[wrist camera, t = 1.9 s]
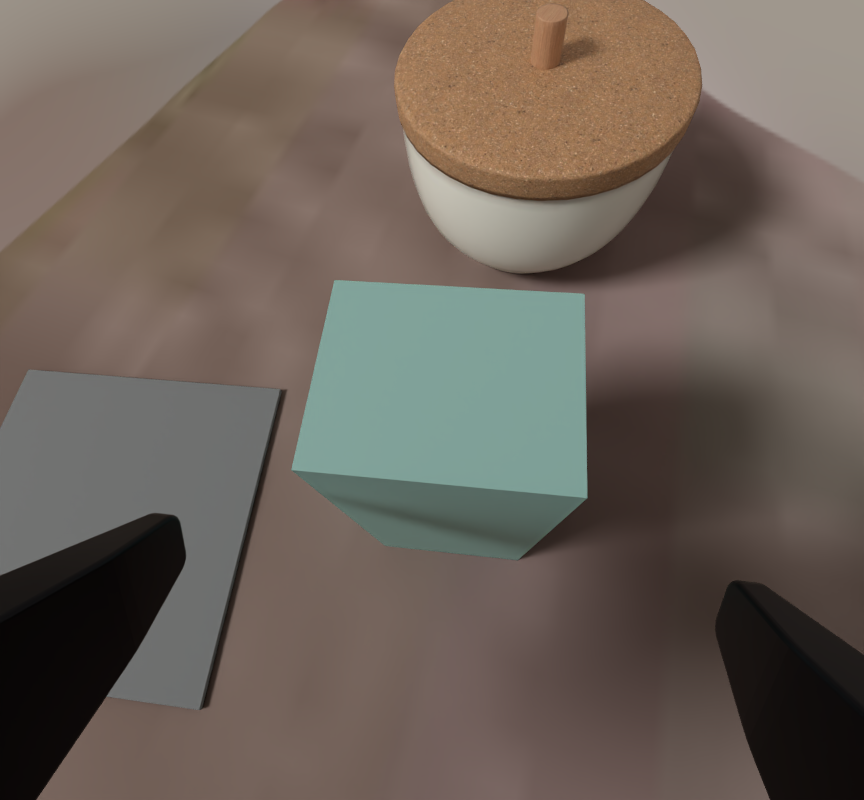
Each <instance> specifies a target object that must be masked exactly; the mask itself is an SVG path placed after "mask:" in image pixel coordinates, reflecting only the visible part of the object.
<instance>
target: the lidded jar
mask: <svg viewBox="0 0 864 800" xmlns="http://www.w3.org/2000/svg"><path fill="white" fill-rule="evenodd" d="M394 88H395V96H396V103H397V108H398V113H399V118H400V122H401V125H402V127H403V133H404V139H405V144H406V150H407V156H408V161H409V166H410V170H411V173H412V177H413V180H414V184H415V186H416V189H417V191H418V194H419V196H420V198H421V201H422V203H423V206H424V208H425V210H426V212H427V214H428V215H429V217H430V218H431V220H432V221H433V223H434V224H435V226H436V227H437V229H438V230H439V231H440V233H441V234H442V235H443V236H444V237H445V238H446V239H447V240H448V241H449V242H450V243H451V244H452V245H453V246H454V247H456V248H457V249H458V250H460V251H461V252H462V253H464V254H465V255H466V256H468V257H470V258H471V259H473V260H475V261H477V262H479V263H481V264H484V265H487V266H489V267H492V268H495V269H497V270H500V271H504V272H509V273H518V274H526V273H536V272H544V271H550V270H556V269H559V268H562V267H565V266H569V265H571V264H573V263H575V262H578V261H580V260H582V259H584V258H586V257H588V256H590V255H592V254H593V253H595V252H596V251H598V250H599V249H601V248H602V247H604V246H605V245H606V244H607V243H609V242H610V241H611V240H612V239H613V238H614V237H616V236H617V235H618V234H619V233H620V232H621V231H622V230H623V229H624V228H625V227H626V226H627V224H628V223H629V222H630V221H631V220H632V218H633V217H634V216H635V215H636V213H637V212H638V211H639V209H640V208H641V207H642V205H643V204H644V202H645V201H646V200H647V198H648V196H649V195H650V193H651V192H652V190H653V189H654V187H655V186H656V184H657V182H658V180H659V178H660V177H661V175H662V173H663V171H664V169H665V167H666V165H667V163H668V161H669V158H670V156H671V154H672V152H673V150H674V149H675V147H676V146H677V145H678V143H679V142H680V140H681V139H682V138H683V136H684V134H685V132H686V130H687V128H688V126H689V124H690V121H691V119H692V117H693V115H694V112H695V110H696V108H697V106H698V103H699V101H700V95H701V89H702V77H701V67H700V64H699V61H698V57H697V54H696V51H695V49H694V47H693V46H692V44H691V42H690V41H689V39H688V37H687V36H686V35H685V33H684V32H683V31H682V30H681V29H680V28H679V26H678V25H677V24H676V23H675V22H674V21H673V20H671V19H670V18H669V17H668V16H667V15H665V14H664V13H663V12H662V11H660V10H659V9H657V8H655V7H654V6H652V5H650V4H649V3H647V2H646V1H644V0H454V1H452V2H450V3H448V4H446V5H445V6H443V7H442V8H441V9H439V10H438V11H436V12H435V13H433V14H432V15H431V16H430V17H428V18H427V19H426V20H425V21H424V22H423V23H422V24H420V25H419V26H418V28H417V29H416V30H415V31H414V33H413V34H412V35H411V37H410V38H409V39H408V41H407V43H406V45H405V46H404V48H403V50H402V52H401V54H400V56H399V59H398V63H397V66H396V70H395V83H394Z"/></svg>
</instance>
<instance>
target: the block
mask: <svg viewBox="0 0 864 800" xmlns="http://www.w3.org/2000/svg"><path fill="white" fill-rule="evenodd" d="M292 471H293V472H294V473H296V474H297V475H298V476H299V477H301V478H302V479H303V480H304V481H306V482H307V483H308V484H309V485H311V486H312V487H313V488H314V489H315V490H317V491H318V492H319V493H320V494H322V495H323V496H324V497H325V498H327V499H328V500H329V501H330V502H332V503H333V504H334V505H335V506H336V507H338V508H339V509H340V510H341V511H343V512H344V513H345V514H346V515H348V516H349V517H350V518H351V519H353V520H354V521H355V522H356V523H358V524H359V525H360V526H361V527H362V528H364V529H365V530H366V531H367V532H369V533H370V534H371V535H372V536H374V537H375V538H376V539H377V540H379V541H380V542H381V543H382V544H383V545H385V546H392V547H401V548H410V549H419V550H428V551H438V552H447V553H456V554H465V555H475V556H484V557H493V558H502V559H511V560H519V559H520V558H521V557H522V556H523V555H524V554H525V553H526V552H528V551H529V550H530V549H531V548H532V547H533V546H534V545H535V544H537V543H538V542H539V541H540V540H541V539H542V538H543V537H544V536H545V535H547V534H548V533H549V532H550V531H551V530H552V529H553V528H554V527H556V526H557V525H558V524H559V523H560V522H561V521H562V520H563V519H565V518H566V517H567V516H568V515H569V514H570V513H571V512H572V511H573V510H575V509H576V508H577V507H578V506H579V505H580V504H581V503H582V502H584V501H585V500H586V499H587V435H586V365H585V295H584V294H578V293H559V292H541V291H523V290H505V289H487V288H469V287H451V286H432V285H414V284H396V283H378V282H360V281H342V280H334V285H333V289H332V294H331V298H330V302H329V307H328V311H327V316H326V320H325V324H324V329H323V333H322V338H321V342H320V346H319V351H318V355H317V360H316V364H315V368H314V373H313V377H312V382H311V386H310V390H309V395H308V399H307V404H306V408H305V412H304V417H303V421H302V426H301V430H300V434H299V439H298V443H297V448H296V452H295V456H294V461H293V465H292Z"/></svg>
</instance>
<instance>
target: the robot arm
mask: <svg viewBox="0 0 864 800" xmlns="http://www.w3.org/2000/svg"><path fill="white" fill-rule="evenodd" d="M185 561H186V549H185V544H184V538H183V533H182V528H181V523H180V520H179V519H178V517H177V516H175V515H171V514H162V513H151V514H148V515H146V516H143V517H141V518H138V519H136V520H133V521H131V522H129V523H126V524H124V525H121V526H119V527H116V528H114V529H112V530H109V531H107V532H104V533H102V534H99V535H97V536H95V537H92V538H90V539H87V540H85V541H82V542H80V543H78V544H75V545H73V546H70V547H68V548H65V549H63V550H61V551H58V552H56V553H53V554H51V555H48V556H46V557H44V558H41V559H39V560H36V561H34V562H31V563H29V564H27V565H24V566H22V567H19V568H17V569H14V570H12V571H10V572H7V573H5V574H2V575H0V800H36V799H37V798H38V796H39V795H40V794H41V792H42V791H43V789H44V788H45V786H46V785H47V783H48V782H49V780H50V779H51V777H52V776H53V774H54V773H55V771H56V770H57V769H58V767H59V766H60V764H61V763H62V761H63V760H64V758H65V757H66V755H67V754H68V752H69V751H70V749H71V748H72V746H73V745H74V744H75V742H76V741H77V739H78V738H79V736H80V735H81V733H82V732H83V730H84V729H85V727H86V726H87V724H88V723H89V721H90V720H91V718H92V717H93V716H94V714H95V713H96V711H97V710H98V708H99V707H100V705H101V704H102V702H103V701H104V699H105V698H106V696H107V695H108V693H109V692H110V691H111V689H112V688H113V686H114V685H115V683H116V682H117V680H118V679H119V677H120V676H121V674H122V673H123V671H124V670H125V668H126V667H127V665H128V664H129V662H130V661H131V659H132V658H133V656H134V655H135V653H136V652H137V650H138V648H139V646H140V645H141V643H142V641H143V640H144V638H145V636H146V635H147V633H148V631H149V629H150V627H151V625H152V624H153V622H154V620H155V618H156V616H157V615H158V613H159V611H160V609H161V607H162V606H163V604H164V602H165V600H166V598H167V597H168V595H169V593H170V591H171V589H172V588H173V586H174V584H175V582H176V580H177V579H178V577H179V575H180V573H181V571H182V569H183V567H184V565H185ZM715 631H716V637H717V641H718V644H719V647H720V651H721V654H722V658H723V661H724V665H725V668H726V671H727V675H728V678H729V682H730V685H731V689H732V692H733V696H734V699H735V702H736V706H737V709H738V713H739V716H740V720H741V723H742V726H743V729H744V732H745V736H746V739H747V742H748V745H749V747H750V750H751V753H752V755H753V758H754V761H755V763H756V766H757V768H758V771H759V773H760V776H761V778H762V781H763V783H764V786H765V788H766V791H767V793H768V796H769V798H770V800H864V655H863V654H862V653H860V652H859V651H857V650H856V649H854V648H853V647H852V646H850V645H849V644H847V643H846V642H845V641H843V640H842V639H840V638H839V637H837V636H836V635H835V634H833V633H832V632H830V631H829V630H827V629H826V628H825V627H823V626H822V625H820V624H819V623H818V622H816V621H815V620H813V619H812V618H810V617H809V616H808V615H806V614H805V613H803V612H802V611H800V610H799V609H798V608H796V607H795V606H793V605H792V604H791V603H789V602H788V601H786V600H785V599H783V598H782V597H781V596H779V595H778V594H776V593H775V592H773V591H772V590H771V589H769V588H768V587H766V586H765V585H763V584H760V583H755V582H746V581H738V580H737V581H732V582H731V583H730V584H729V585H728V587H727V589H726V592H725V595H724V598H723V601H722V604H721V607H720V609H719V612H718V615H717V618H716V624H715Z"/></svg>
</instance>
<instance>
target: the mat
mask: <svg viewBox="0 0 864 800" xmlns="http://www.w3.org/2000/svg"><path fill="white" fill-rule="evenodd" d="M281 392H282V391H281V390H280V389H271V388H258V387H245V386H232V385H219V384H207V383H194V382H181V381H168V380H155V379H142V378H130V377H117V376H104V375H91V374H78V373H65V372H53V371H40V370H28V372H27V374H26V376H25V378H24V380H23V382H22V384H21V386H20V388H19V390H18V393H17V395H16V397H15V399H14V401H13V403H12V405H11V407H10V409H9V411H8V413H7V415H6V418H5V420H4V422H3V424H2V426H1V428H0V575H2V574H5V573H7V572H10V571H12V570H14V569H17V568H19V567H22V566H24V565H27V564H29V563H31V562H34V561H36V560H39V559H41V558H44V557H46V556H48V555H51V554H53V553H56V552H58V551H61V550H63V549H65V548H68V547H70V546H73V545H75V544H78V543H80V542H82V541H85V540H87V539H90V538H92V537H95V536H97V535H99V534H102V533H104V532H107V531H109V530H112V529H114V528H116V527H119V526H121V525H124V524H126V523H129V522H131V521H133V520H136V519H138V518H141V517H143V516H146V515H148V514H151V513H162V514H171V515H175V516H177V517H178V519H179V520H180V523H181V528H182V533H183V538H184V544H185V549H186V561H185V565H184V567H183V569H182V571H181V573H180V575H179V577H178V579H177V580H176V582H175V584H174V586H173V588H172V589H171V591H170V593H169V595H168V597H167V598H166V600H165V602H164V604H163V606H162V607H161V609H160V611H159V613H158V615H157V616H156V618H155V620H154V622H153V624H152V625H151V627H150V629H149V631H148V633H147V635H146V636H145V638H144V640H143V641H142V643H141V645H140V646H139V648H138V650H137V652H136V653H135V655H134V656H133V658H132V659H131V661H130V662H129V664H128V665H127V667H126V668H125V670H124V671H123V673H122V674H121V676H120V677H119V679H118V680H117V682H116V683H115V685H114V686H113V688H112V689H111V691H110V692H109V693H108V695H107V697H114V698H120V699H127V700H134V701H141V702H148V703H154V704H161V705H168V706H175V707H182V708H188V709H195V710H201V709H202V707H203V703H204V699H205V695H206V691H207V687H208V683H209V679H210V675H211V671H212V667H213V663H214V659H215V655H216V651H217V647H218V643H219V639H220V635H221V631H222V627H223V623H224V619H225V615H226V611H227V607H228V603H229V599H230V595H231V591H232V587H233V583H234V579H235V575H236V571H237V567H238V563H239V559H240V555H241V551H242V547H243V543H244V539H245V536H246V532H247V528H248V524H249V520H250V516H251V512H252V508H253V504H254V500H255V496H256V492H257V488H258V484H259V480H260V476H261V472H262V468H263V464H264V460H265V456H266V452H267V448H268V444H269V440H270V436H271V432H272V428H273V424H274V420H275V416H276V412H277V408H278V404H279V400H280V396H281Z"/></svg>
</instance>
